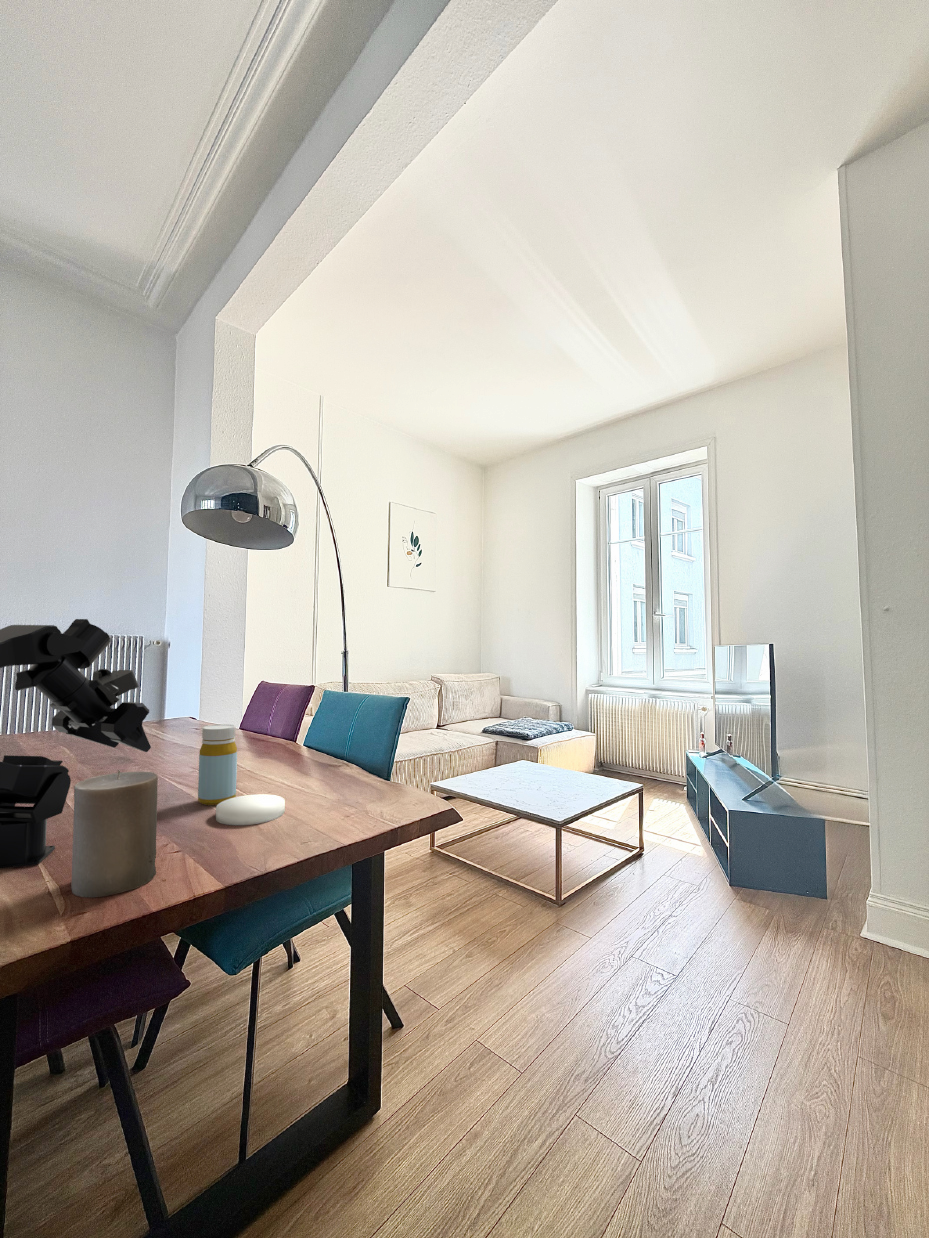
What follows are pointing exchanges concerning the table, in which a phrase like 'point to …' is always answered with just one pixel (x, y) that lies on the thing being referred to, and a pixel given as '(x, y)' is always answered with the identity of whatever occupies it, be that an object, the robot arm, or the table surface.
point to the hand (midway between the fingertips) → (132, 747)
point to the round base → (250, 809)
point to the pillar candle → (114, 833)
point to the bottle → (217, 764)
